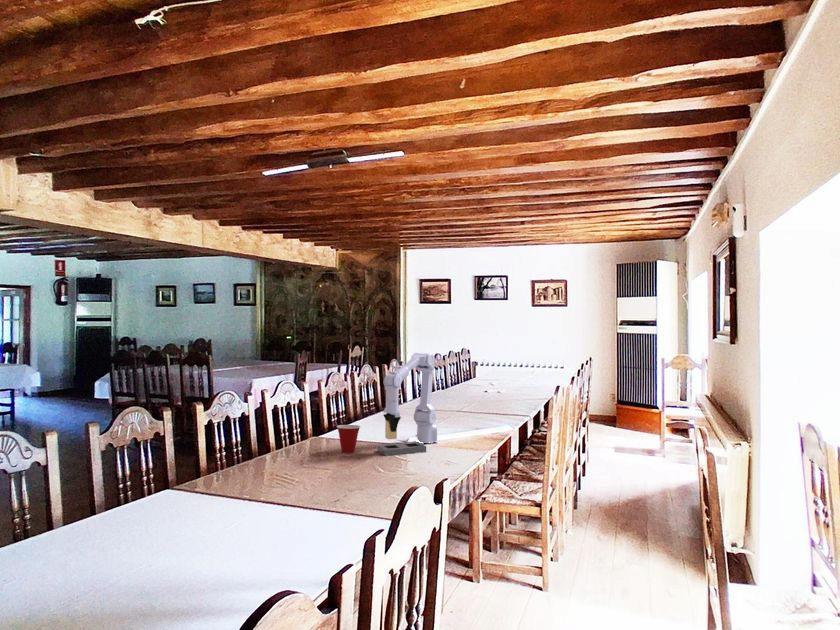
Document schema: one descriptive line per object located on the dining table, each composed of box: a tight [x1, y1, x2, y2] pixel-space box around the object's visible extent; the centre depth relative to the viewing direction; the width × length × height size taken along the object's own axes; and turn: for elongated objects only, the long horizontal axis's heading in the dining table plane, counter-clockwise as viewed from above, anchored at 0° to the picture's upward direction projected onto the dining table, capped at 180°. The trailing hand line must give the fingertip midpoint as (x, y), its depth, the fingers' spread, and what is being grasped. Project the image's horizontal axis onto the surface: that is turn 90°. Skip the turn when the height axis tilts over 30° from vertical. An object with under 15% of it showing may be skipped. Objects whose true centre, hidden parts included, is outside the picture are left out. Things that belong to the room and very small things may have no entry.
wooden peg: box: [384, 420, 398, 440], centre depth 245 cm, size 4×4×8 cm
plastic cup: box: [336, 424, 361, 454], centre depth 246 cm, size 11×11×12 cm
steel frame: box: [377, 441, 427, 456], centre depth 247 cm, size 20×10×2 cm, turn 113°
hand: (391, 430), depth 246 cm, fingers closed on wooden peg, 4 cm apart
